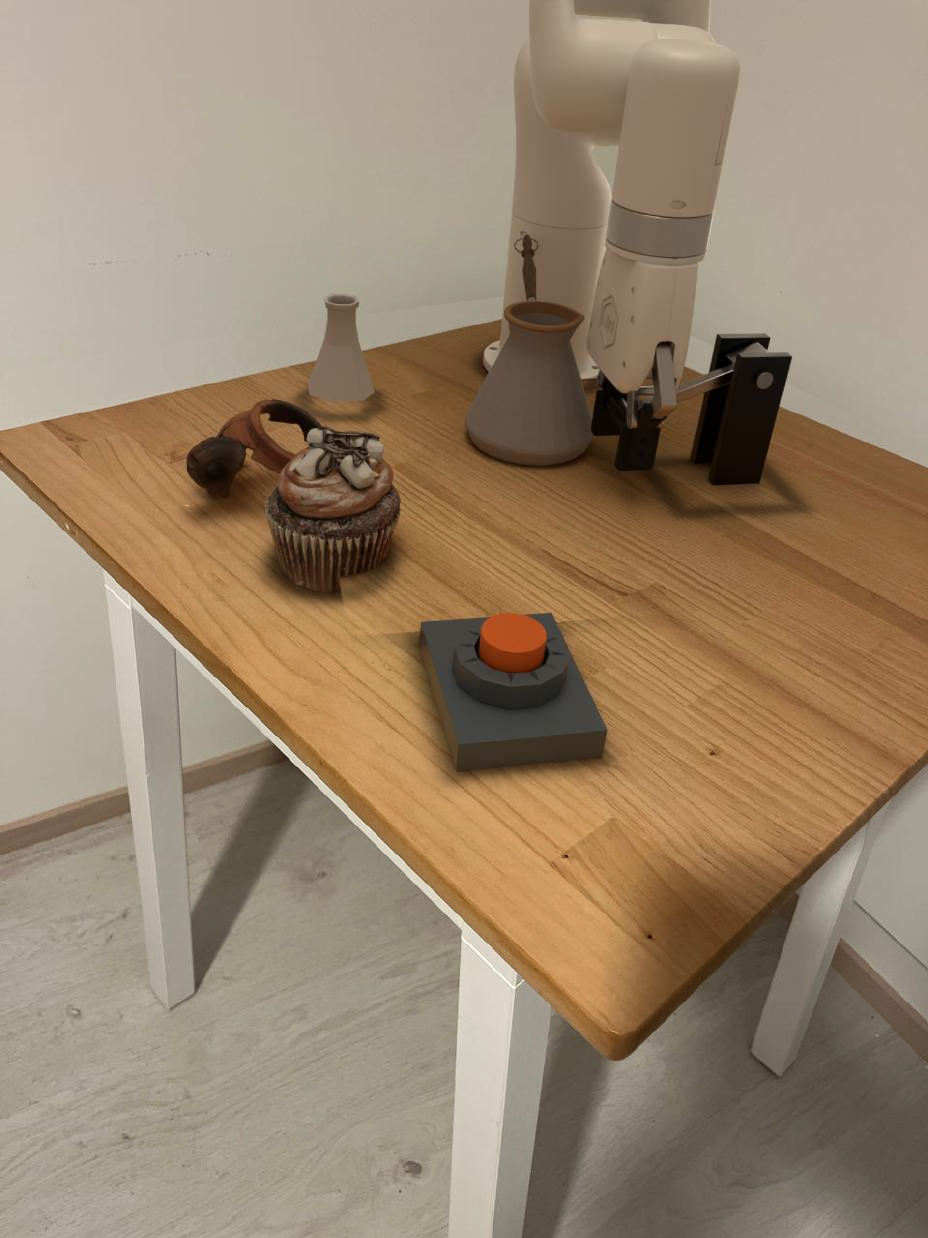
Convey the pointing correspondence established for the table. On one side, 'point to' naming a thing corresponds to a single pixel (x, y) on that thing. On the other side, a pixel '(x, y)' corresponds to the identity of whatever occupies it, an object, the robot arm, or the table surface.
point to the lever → (683, 386)
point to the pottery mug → (244, 445)
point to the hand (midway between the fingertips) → (620, 449)
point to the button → (512, 643)
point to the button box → (509, 700)
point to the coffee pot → (533, 385)
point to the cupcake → (333, 509)
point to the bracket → (740, 411)
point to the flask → (341, 355)
